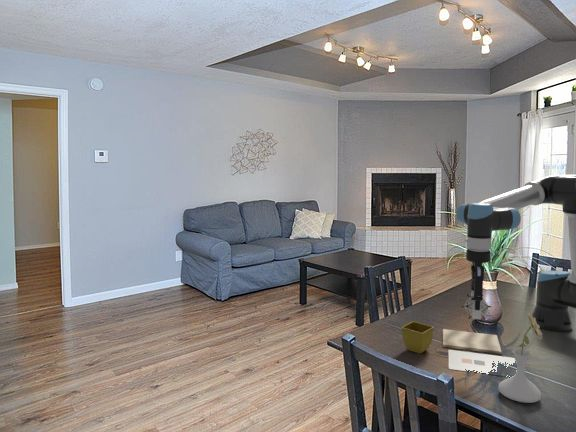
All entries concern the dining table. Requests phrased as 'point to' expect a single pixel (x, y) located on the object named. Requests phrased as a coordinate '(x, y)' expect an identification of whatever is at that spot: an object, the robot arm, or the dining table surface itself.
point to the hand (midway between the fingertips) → (475, 313)
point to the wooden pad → (471, 341)
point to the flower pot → (417, 336)
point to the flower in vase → (522, 372)
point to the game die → (469, 306)
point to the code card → (476, 361)
